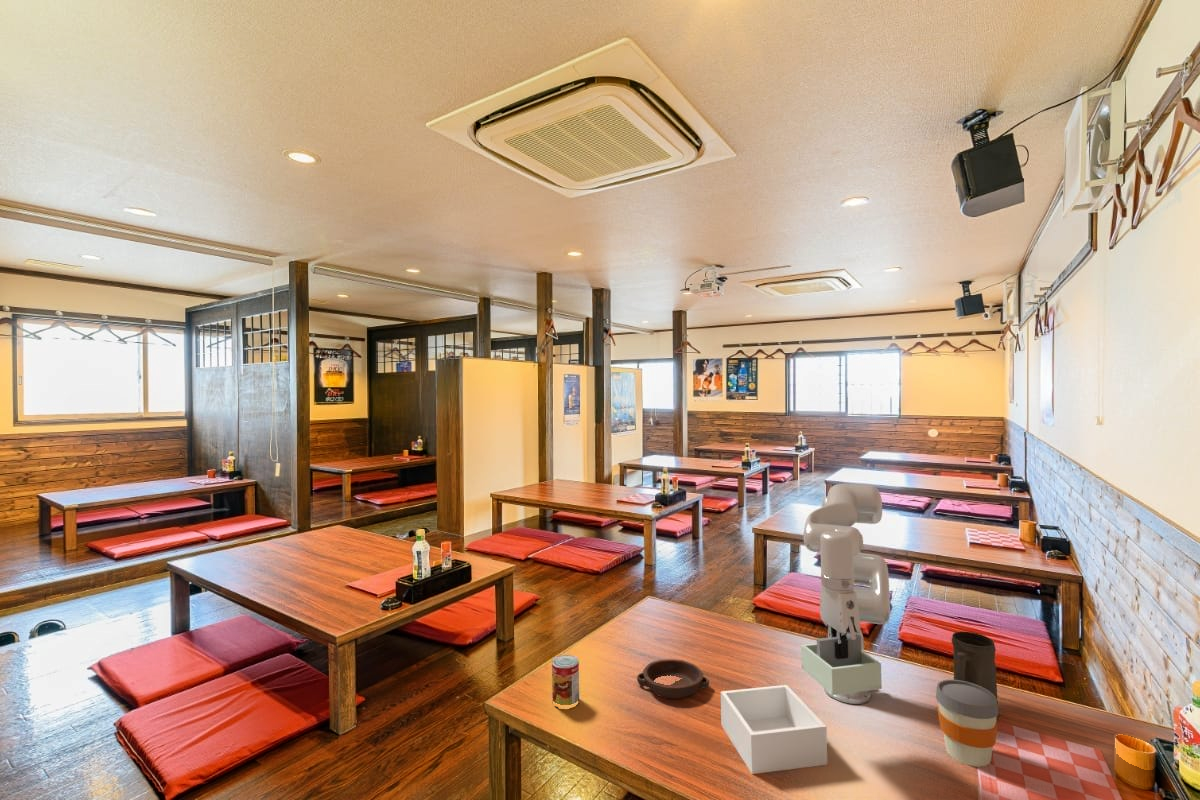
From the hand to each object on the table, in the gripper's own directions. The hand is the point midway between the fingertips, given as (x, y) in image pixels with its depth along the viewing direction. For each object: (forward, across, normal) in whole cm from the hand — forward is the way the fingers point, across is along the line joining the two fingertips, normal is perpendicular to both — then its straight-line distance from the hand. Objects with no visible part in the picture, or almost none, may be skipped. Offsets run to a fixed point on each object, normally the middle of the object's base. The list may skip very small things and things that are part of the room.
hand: (839, 655), depth 129 cm
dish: (+24, +36, +32) cm, 54 cm away
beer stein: (+23, +7, -45) cm, 51 cm away
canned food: (+23, +35, +65) cm, 78 cm away
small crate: (+5, 0, 0) cm, 5 cm away
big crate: (+23, +6, +16) cm, 29 cm away
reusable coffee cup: (+23, -8, -29) cm, 38 cm away
